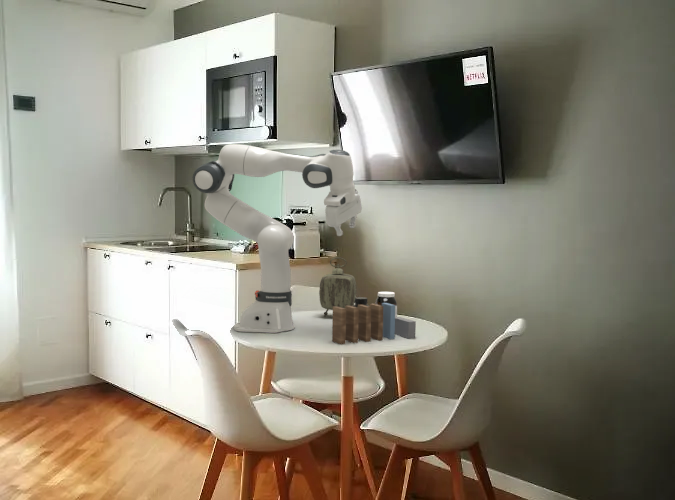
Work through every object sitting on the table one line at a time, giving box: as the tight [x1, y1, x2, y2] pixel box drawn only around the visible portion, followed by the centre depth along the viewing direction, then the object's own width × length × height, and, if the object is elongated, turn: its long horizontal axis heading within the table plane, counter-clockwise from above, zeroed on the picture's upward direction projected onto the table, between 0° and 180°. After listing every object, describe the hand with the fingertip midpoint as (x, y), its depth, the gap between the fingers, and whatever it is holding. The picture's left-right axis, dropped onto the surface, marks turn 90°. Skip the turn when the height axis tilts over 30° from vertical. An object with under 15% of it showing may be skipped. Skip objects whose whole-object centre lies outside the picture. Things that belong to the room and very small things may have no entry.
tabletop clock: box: [318, 256, 357, 316], centre depth 279 cm, size 14×9×25 cm, turn 82°
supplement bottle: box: [353, 296, 370, 308], centre depth 255 cm, size 7×7×12 cm
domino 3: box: [358, 305, 372, 343], centre depth 236 cm, size 2×6×12 cm, turn 29°
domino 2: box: [345, 305, 359, 344], centre depth 233 cm, size 2×6×12 cm, turn 29°
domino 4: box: [369, 303, 384, 341], centre depth 238 cm, size 2×6×12 cm, turn 29°
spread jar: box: [374, 291, 398, 317], centre depth 273 cm, size 12×11×12 cm
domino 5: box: [382, 303, 396, 340], centre depth 241 cm, size 2×6×12 cm, turn 29°
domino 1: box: [331, 306, 346, 345], centre depth 231 cm, size 2×6×12 cm, turn 29°
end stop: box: [395, 316, 417, 340], centre depth 244 cm, size 3×10×6 cm, turn 29°
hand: (346, 231), depth 249 cm, fingers open, 8 cm apart
